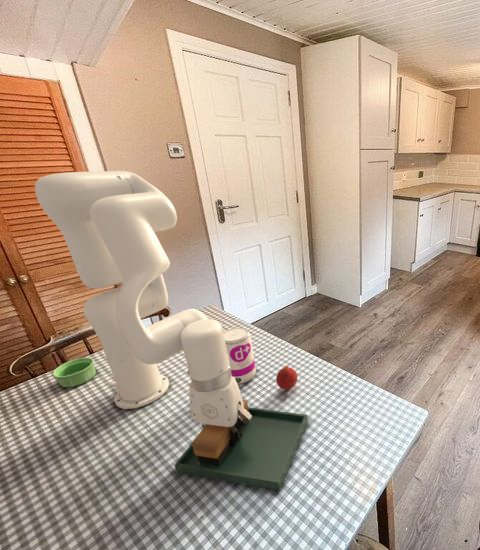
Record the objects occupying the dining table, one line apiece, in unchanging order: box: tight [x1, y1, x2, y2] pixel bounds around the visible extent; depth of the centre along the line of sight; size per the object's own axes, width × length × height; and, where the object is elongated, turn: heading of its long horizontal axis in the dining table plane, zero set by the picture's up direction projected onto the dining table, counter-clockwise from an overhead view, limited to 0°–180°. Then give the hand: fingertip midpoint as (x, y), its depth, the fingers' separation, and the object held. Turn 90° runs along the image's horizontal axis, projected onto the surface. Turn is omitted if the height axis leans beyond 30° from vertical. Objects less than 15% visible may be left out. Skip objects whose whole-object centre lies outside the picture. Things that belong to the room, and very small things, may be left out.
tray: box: [174, 406, 309, 491], centre depth 70 cm, size 23×17×2 cm
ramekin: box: [52, 357, 97, 388], centre depth 90 cm, size 9×9×4 cm
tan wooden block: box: [191, 399, 249, 465], centre depth 70 cm, size 13×5×6 cm, turn 171°
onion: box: [275, 364, 298, 391], centre depth 86 cm, size 6×6×8 cm
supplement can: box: [223, 327, 257, 385], centre depth 90 cm, size 8×8×15 cm
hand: (225, 437), depth 71 cm, fingers closed on tan wooden block, 5 cm apart
